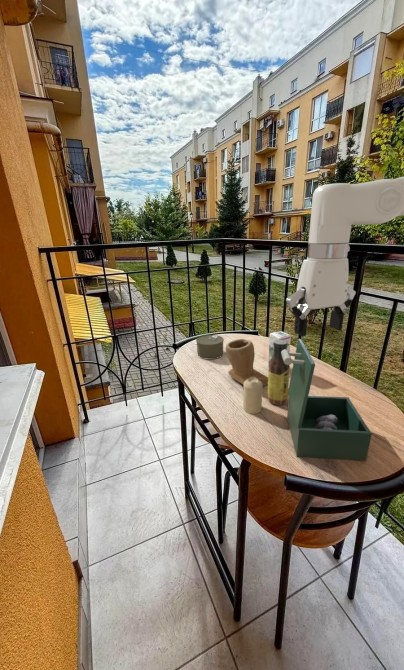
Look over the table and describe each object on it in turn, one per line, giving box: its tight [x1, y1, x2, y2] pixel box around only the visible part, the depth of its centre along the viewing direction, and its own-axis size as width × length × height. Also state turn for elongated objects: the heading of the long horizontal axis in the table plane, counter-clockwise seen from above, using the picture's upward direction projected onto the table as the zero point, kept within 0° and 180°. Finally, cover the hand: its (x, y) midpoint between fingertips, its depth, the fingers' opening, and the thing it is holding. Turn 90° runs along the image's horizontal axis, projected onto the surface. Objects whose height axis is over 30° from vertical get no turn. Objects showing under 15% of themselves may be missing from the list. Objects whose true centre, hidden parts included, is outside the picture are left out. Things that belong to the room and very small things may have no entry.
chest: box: [286, 395, 372, 462], centre depth 71 cm, size 16×15×8 cm
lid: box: [281, 338, 316, 428], centre depth 68 cm, size 16×15×5 cm
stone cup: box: [225, 338, 268, 387], centre depth 99 cm, size 15×12×15 cm
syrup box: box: [267, 330, 292, 368], centre depth 107 cm, size 6×6×14 cm
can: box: [195, 334, 224, 359], centre depth 124 cm, size 12×12×7 cm
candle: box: [242, 377, 263, 414], centre depth 84 cm, size 6×6×10 cm
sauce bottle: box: [267, 340, 291, 406], centre depth 86 cm, size 7×6×20 cm
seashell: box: [315, 415, 338, 430], centre depth 72 cm, size 5×5×10 cm
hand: (318, 331), depth 63 cm, fingers open, 9 cm apart
